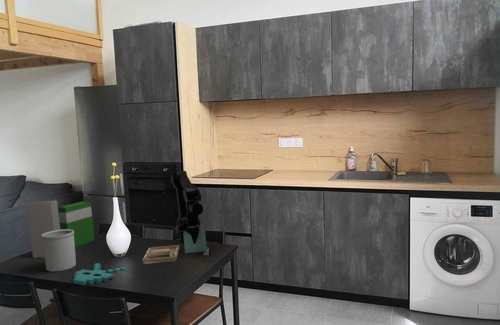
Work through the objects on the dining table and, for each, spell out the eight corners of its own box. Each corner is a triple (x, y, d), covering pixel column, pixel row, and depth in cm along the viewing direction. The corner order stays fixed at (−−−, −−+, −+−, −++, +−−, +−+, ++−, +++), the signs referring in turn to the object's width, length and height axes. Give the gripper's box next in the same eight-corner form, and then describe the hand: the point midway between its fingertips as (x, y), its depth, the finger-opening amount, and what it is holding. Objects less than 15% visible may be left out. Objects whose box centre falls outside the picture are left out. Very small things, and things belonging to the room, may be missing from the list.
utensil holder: (64, 260, 221) (60, 227, 219) (84, 263, 214) (80, 229, 212) (38, 270, 208) (34, 235, 206) (58, 273, 201) (54, 237, 199)
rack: (149, 253, 223) (148, 247, 223) (179, 250, 224) (179, 245, 224) (142, 266, 203) (142, 260, 203) (176, 262, 204) (175, 257, 204)
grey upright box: (63, 253, 234) (56, 200, 231) (57, 256, 228) (51, 202, 225) (39, 254, 235) (32, 201, 232) (33, 257, 230) (26, 203, 227)
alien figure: (97, 267, 207) (63, 282, 190) (97, 263, 207) (62, 277, 189) (128, 271, 198) (94, 288, 180) (127, 267, 198) (94, 283, 180)
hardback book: (86, 239, 262) (82, 201, 259) (94, 240, 258) (90, 201, 255) (61, 247, 246) (56, 207, 244) (69, 248, 243) (65, 207, 240)
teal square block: (185, 252, 219) (183, 231, 218) (206, 250, 220) (205, 229, 219) (185, 253, 216) (183, 233, 215) (206, 251, 217) (204, 231, 216)
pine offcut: (153, 253, 210) (153, 250, 209) (169, 251, 210) (169, 248, 209) (152, 255, 206) (151, 252, 205) (168, 254, 206) (168, 251, 205)
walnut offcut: (149, 256, 209) (149, 253, 209) (169, 254, 211) (169, 251, 210) (148, 259, 205) (148, 256, 205) (169, 256, 206) (169, 254, 206)
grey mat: (184, 250, 223) (184, 250, 223) (208, 248, 224) (208, 247, 224) (182, 257, 212) (182, 256, 212) (208, 255, 213) (208, 254, 213)
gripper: (178, 209, 224) (180, 237, 226) (175, 217, 206) (177, 248, 207) (199, 207, 225) (201, 235, 227) (197, 215, 207) (200, 245, 208)
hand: (195, 241), depth 217 cm, fingers open, 9 cm apart
